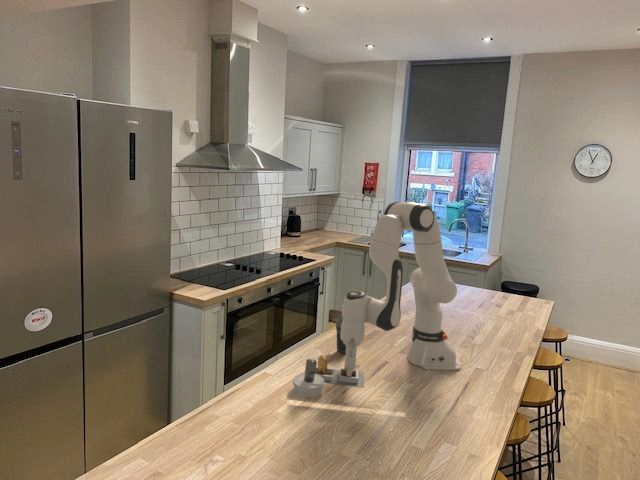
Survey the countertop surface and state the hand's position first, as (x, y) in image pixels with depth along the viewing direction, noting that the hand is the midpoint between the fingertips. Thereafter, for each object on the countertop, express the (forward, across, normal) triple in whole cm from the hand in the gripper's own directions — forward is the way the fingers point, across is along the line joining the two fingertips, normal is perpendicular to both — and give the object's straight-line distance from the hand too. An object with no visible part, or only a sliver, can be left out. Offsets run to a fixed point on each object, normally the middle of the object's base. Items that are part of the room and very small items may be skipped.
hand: (349, 369), depth 177 cm
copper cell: (+4, 0, 0) cm, 4 cm away
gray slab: (+5, 0, +5) cm, 7 cm away
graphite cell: (-1, -12, +14) cm, 19 cm away
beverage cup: (+5, +26, +3) cm, 27 cm away
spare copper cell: (+4, 0, +10) cm, 11 cm away
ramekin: (+5, -12, +14) cm, 19 cm away
